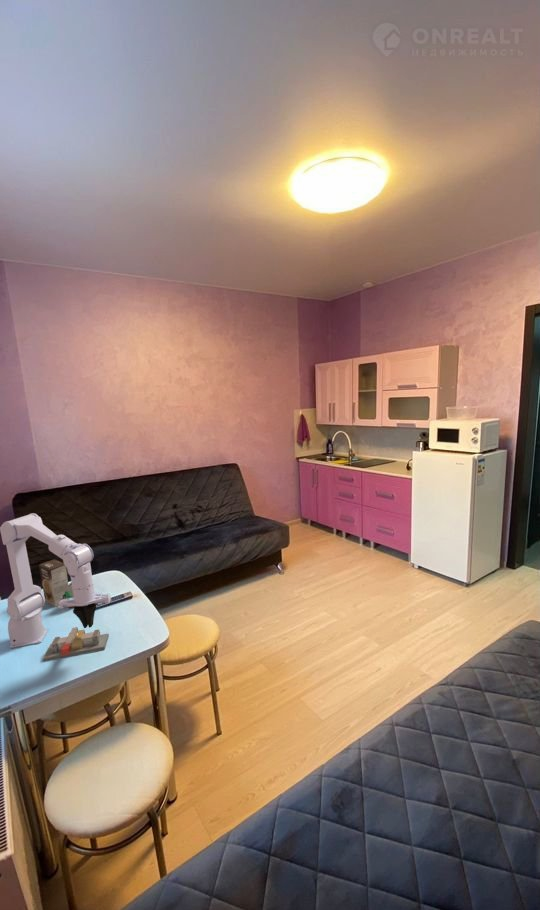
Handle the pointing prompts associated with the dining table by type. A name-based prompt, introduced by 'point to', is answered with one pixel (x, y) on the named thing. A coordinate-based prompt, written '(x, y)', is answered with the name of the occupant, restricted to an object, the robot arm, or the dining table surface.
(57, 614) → the dining table surface
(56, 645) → the pipe and valve
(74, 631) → the valve lever
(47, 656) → the board
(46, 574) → the coffee box
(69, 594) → the food container
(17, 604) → the robot arm
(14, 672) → the dining table surface
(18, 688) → the dining table surface
